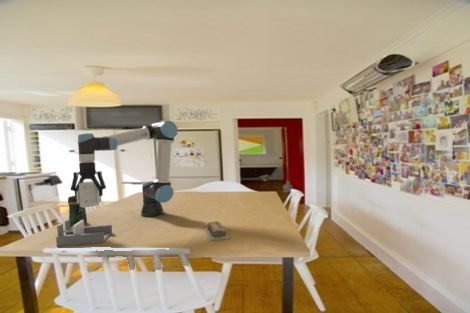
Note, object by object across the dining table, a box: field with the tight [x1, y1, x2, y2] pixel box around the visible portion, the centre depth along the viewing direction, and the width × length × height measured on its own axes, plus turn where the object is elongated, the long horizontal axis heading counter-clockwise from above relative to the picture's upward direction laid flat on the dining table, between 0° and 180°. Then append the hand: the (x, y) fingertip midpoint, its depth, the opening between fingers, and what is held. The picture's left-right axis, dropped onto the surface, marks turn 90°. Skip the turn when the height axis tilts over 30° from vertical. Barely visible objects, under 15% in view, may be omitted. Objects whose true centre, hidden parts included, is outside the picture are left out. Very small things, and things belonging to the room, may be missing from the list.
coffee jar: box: [67, 195, 88, 227], centre depth 162 cm, size 10×8×19 cm
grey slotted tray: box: [55, 218, 113, 247], centre depth 135 cm, size 22×14×10 cm, turn 99°
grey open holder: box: [63, 220, 85, 235], centre depth 134 cm, size 9×10×8 cm
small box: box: [79, 180, 100, 209], centre depth 141 cm, size 8×6×13 cm
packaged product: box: [204, 221, 230, 242], centre depth 137 cm, size 18×5×10 cm
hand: (89, 202), depth 141 cm, fingers closed on small box, 10 cm apart
